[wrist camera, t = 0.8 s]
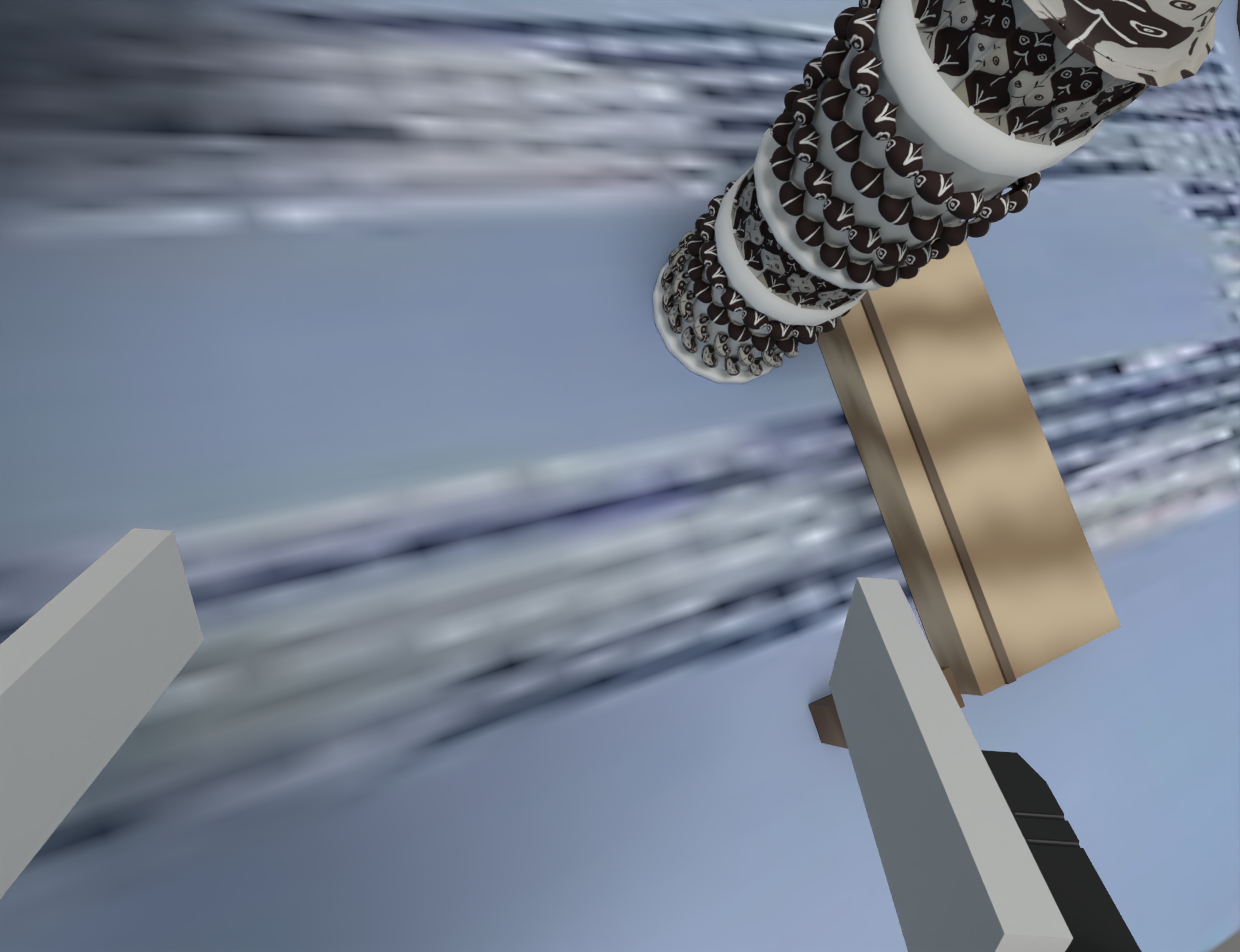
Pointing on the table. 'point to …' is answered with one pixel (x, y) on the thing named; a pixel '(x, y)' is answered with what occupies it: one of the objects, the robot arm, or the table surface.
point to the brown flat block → (830, 721)
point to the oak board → (965, 477)
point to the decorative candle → (905, 158)
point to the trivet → (1238, 17)
